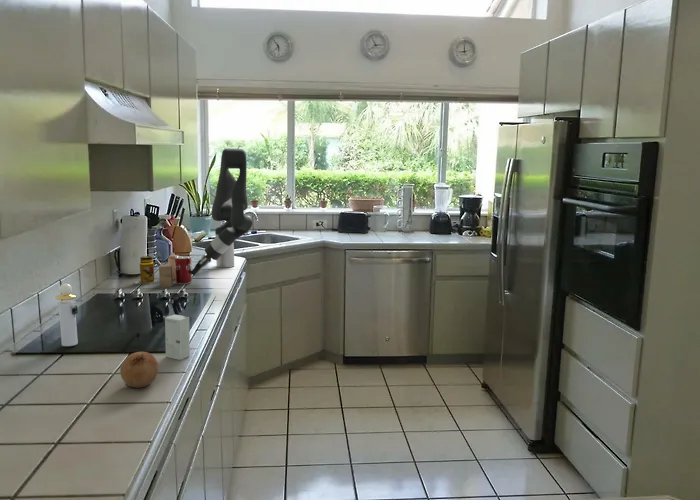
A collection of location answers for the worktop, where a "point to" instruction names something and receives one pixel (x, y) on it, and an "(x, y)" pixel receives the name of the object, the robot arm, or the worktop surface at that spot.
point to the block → (165, 275)
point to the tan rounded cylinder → (172, 262)
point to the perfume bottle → (67, 316)
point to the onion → (139, 369)
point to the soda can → (183, 270)
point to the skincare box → (177, 337)
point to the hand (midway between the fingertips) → (192, 273)
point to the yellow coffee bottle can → (146, 270)
